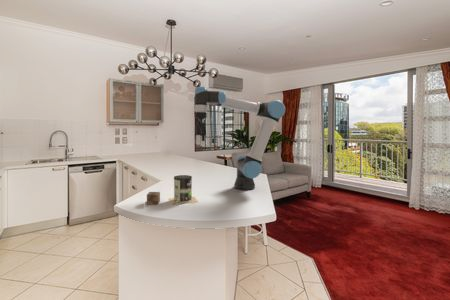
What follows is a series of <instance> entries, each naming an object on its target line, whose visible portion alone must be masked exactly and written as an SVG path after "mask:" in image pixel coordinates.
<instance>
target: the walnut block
mask: <svg viewBox="0 0 450 300" xmlns="http://www.w3.org/2000/svg"><path fill="white" fill-rule="evenodd" d="M160 202H161V191H148V193H147V194H146V205H149V206H150V205H153V206H155V205H159V203H160Z"/></svg>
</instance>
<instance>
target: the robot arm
mask: <svg viewBox="0 0 450 300" xmlns="http://www.w3.org/2000/svg"><path fill="white" fill-rule="evenodd" d="M208 104H209V105H210V106H214V107H216V106H217V107H221V108H226V109H230V110H235V111H241V112H245V113H250V114H254V116H258V117H261V119H262V120H261V124H260V126H259V128H258V131H257V133H256V136H255V137H254V138H255V139H254V141H253V143H252V146H251V148H250V151H249V153H247V154H245V155H244V156H243V155H242V156H237V157H236V178H235V181H234V184H233V185H234V187H233V188H234V189H236V190H241V191H251V190H255V188H256V185H255V184H256V183H255V180H254V179H256V178H258V177H259V175H261V172H262V163H263V160H262V157H263V155H264V152H265V150H266V147H267V145H268V142H269V140H270V137H271V135H272V133H273V130H274V127H275V126H276V125H277V124H279V122H280V119H281V118H282V117H283V116H284V115H285V113H286V106H285V104H284V102H282V101H281V100H278V99H274V100H273V99H272V100H270V101H267V102H260V101H258V102H252V101H249V100H244V99H239V98H234V97H230V96H227V94H226V92H225V91H221V90H219V91H217V90H208V88H207V87H206V86H197V87H195V90H194V106H193V108H194V111H195V112H194V119H197V120H196V124H195V125H196V126H195V135H196V136H195V138H196V139H195V145H197V146H200V147H205V146H206V135H207V127H206V119H207V117H208V116H207V115H208V114H207V111H208V106H207V105H208Z"/></svg>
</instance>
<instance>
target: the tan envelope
mask: <svg viewBox="0 0 450 300" xmlns="http://www.w3.org/2000/svg"><path fill="white" fill-rule="evenodd" d="M168 203H169V205H170V206H173V205H174V206H175V205H183V204H184V205H185V204H196V203H197V204H199V201H198V200H197V198H196V196H192V200H191V201H190V202H187V203H177V202H175V201H174V198H168Z"/></svg>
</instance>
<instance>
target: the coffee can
mask: <svg viewBox="0 0 450 300" xmlns="http://www.w3.org/2000/svg"><path fill="white" fill-rule="evenodd" d="M192 179H193V176H192V175H187V174H182V175H181V174H180V175H174V176H173V189H174V190H173V196H174V201H175V202H177V203H187V202H190V201H191V200H192V197H193V196H192V191H193V190H192V189H193V187H192V183H193V182H192V181H193V180H192Z"/></svg>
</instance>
